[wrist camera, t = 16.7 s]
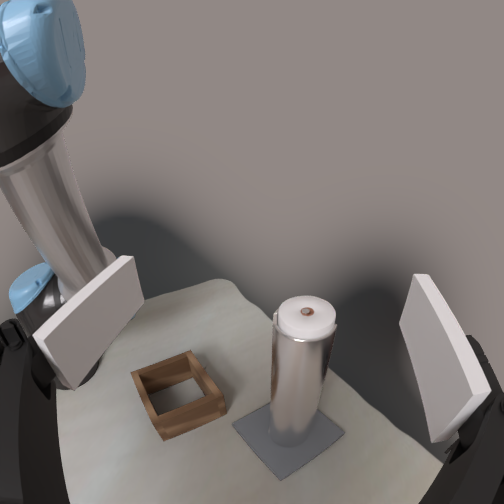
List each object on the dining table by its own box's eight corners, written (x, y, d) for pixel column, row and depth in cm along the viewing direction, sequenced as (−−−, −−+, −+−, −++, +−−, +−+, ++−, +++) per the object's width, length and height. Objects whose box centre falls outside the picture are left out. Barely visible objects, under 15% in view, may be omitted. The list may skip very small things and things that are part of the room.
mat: (232, 424, 38) (231, 423, 38) (293, 390, 45) (293, 388, 45) (280, 480, 29) (280, 479, 28) (344, 434, 35) (345, 432, 35)
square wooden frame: (140, 392, 44) (130, 372, 41) (195, 370, 50) (190, 350, 47) (163, 441, 34) (152, 424, 32) (226, 413, 40) (223, 394, 38)
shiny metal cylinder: (282, 409, 40) (291, 286, 30) (316, 424, 37) (347, 303, 26) (260, 436, 36) (258, 317, 25) (296, 454, 32) (323, 342, 22)
